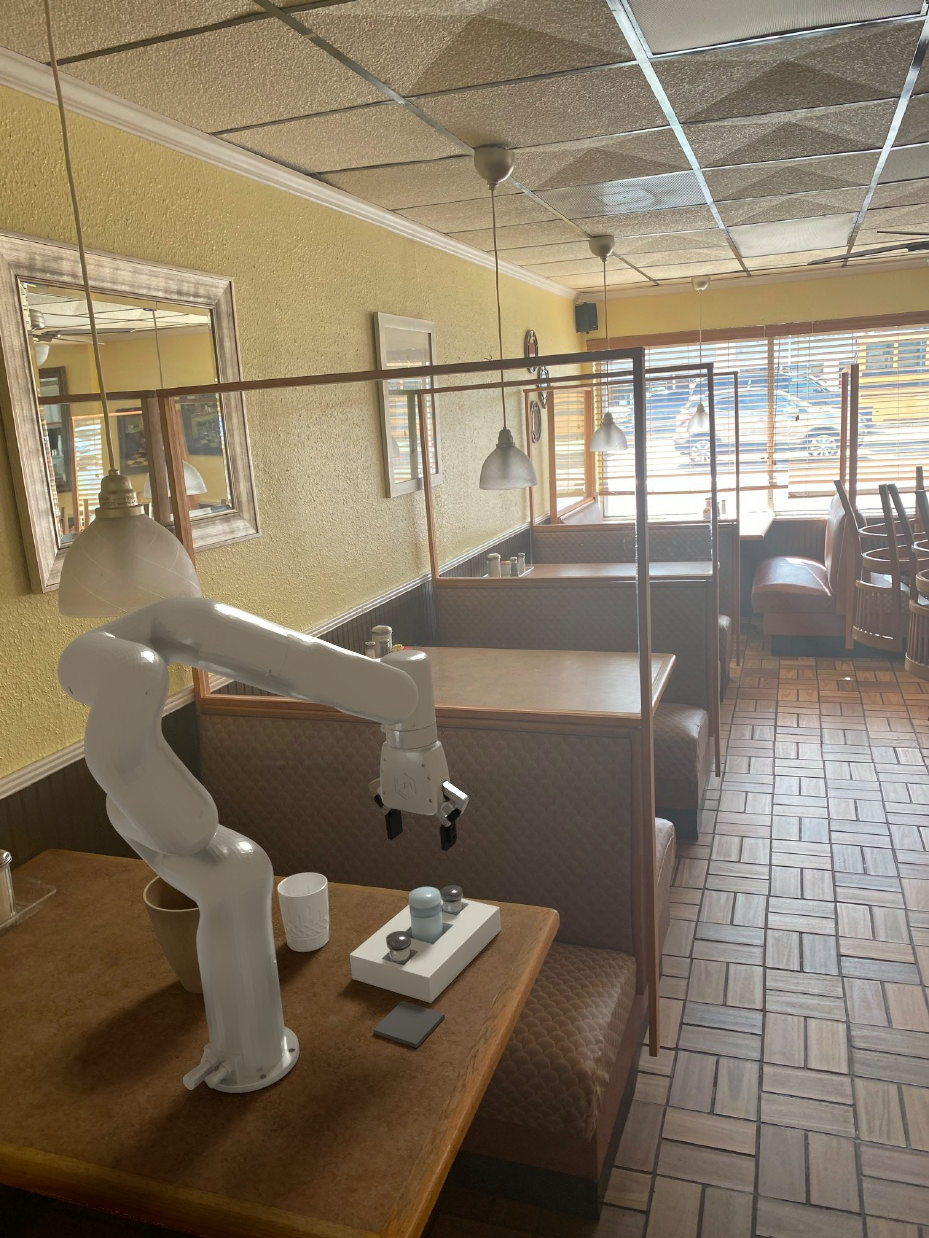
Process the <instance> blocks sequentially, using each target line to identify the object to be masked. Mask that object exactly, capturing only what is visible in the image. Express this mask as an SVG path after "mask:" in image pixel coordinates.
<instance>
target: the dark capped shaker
mask: <svg viewBox="0 0 929 1238" xmlns="http://www.w3.org/2000/svg"><path fill="white" fill-rule="evenodd" d="M439 891H440V897H441V900H443V912H444V913H448V914H452V915H456V916H457V915H458V914H459V913H460V912H461V911H462V903H461V898H462V899H463V897H464V894H463V891H464V890H463V888H462V887H461V886H459V885H455V884H452V885H451V884H450V885H446V886H444V887H442V888H441V889H440V890H439Z"/></svg>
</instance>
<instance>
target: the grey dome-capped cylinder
mask: <svg viewBox="0 0 929 1238" xmlns="http://www.w3.org/2000/svg"><path fill="white" fill-rule="evenodd" d="M386 943H387V947H388V948H389V953H390V962H393V963H397V964H400V965H405V964H406V963H407V962H408V961H409V960H410V947H409V946H410V945H411V936H410V934H409V933H408V932H405V931H395V932H392V933H390V934H389V935H388V936H387V937H386Z"/></svg>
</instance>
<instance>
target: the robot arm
mask: <svg viewBox="0 0 929 1238" xmlns="http://www.w3.org/2000/svg"><path fill="white" fill-rule="evenodd" d="M63 649H64V650H63V651H62V653H61V654H60V655H59V659H58V662H57V670H56V672H57V679H58V682H59V685H60V686H61V688H62V689H63V691H64V692H65V694H67V695H68V697H70V698H71V699H73V700H74V701H75V702H78V703H81V704H82V705H85V706H87V707H90V709H89V713H88V716H87V718H86V719H87V720H86V724H85V731H84V739H83V740H84V741H83V755H84V759H85V762H86V766H87V768H88V771H89V772H90V773H91V775H92V777H93V778H94V780H95V781H96V782H97V784H98V785H99V786H100V788H101V789H102V790H103V791H104V792H105V793H106V799H105V808H106V813H107V817H108V818H109V821H110V824H111V825H112V826H113V828H114V830H116V832H117V833H118V835H120V836H121V837H122V838H123V840H125V842H126V843H127V844H128V845H129V847H131V848H132V849H133V850H134V851H135V853H137V854H138V856H139V857H140V858H141V859H142V860H143V861H144V863H146V864H147V865H148V866H149V867H150V868H151V869H152V870H153V871H154V873H156V874H157V876H160V877H161V878H162V879H163V880H164V881H166V882H167V883H168V884H170V885H171V886H173V887H174V888H176V889H177V890H179V891H180V892H182V893H184V894H185V895H187V896H188V897H189V898H191V899H192V900H194V901H195V902H196V903H197V905H198V907H199V910H200V920H199V924H198V929H197V936H196V943H197V954H198V962H199V967H200V974H201V981H202V988H203V993H202V995H203V1003H204V1008H205V1016H206V1023H207V1031H208V1036H209V1042H208V1043H206V1044H205V1045H204V1046H203V1050H204V1052H203V1054H202V1056H201V1059H200V1063H199V1064H198V1065H197V1066H196V1067H194V1068H192V1069H191V1070H189V1071H188V1073H186V1074H185V1075H184V1076H183V1077H182V1083H183V1084H184V1086H185V1088H187V1089H188V1090H191V1091H193V1090H194V1089H195V1088H197V1086H199V1085H200V1084H201V1083H202V1082H203V1081H204V1082H205V1083H206V1085H207V1086H208V1087H209V1088H210V1089H214V1090H216V1091H220V1092H225V1093H231V1094H233V1093H234V1094H239V1093H240V1094H242V1093H248V1092H254V1091H257V1090H260V1089H263V1088H265V1087H269V1086H271V1085H272V1084H274V1083H276V1082H278V1081H279V1080H281V1079H282V1078H283V1077H285V1076H286V1075H287V1074H288V1073H289V1072H290V1071H291V1070H292V1069H293V1067H294V1066H295V1065H296V1064H297V1060H298V1059H299V1055H300V1043H299V1040H298V1036H297V1035H296V1033H295V1032H294V1031H292V1030H291V1029H290V1028H289V1027H287V1026H285V1021H284V1012H283V1005H282V996H281V995H282V994H281V987H280V981H279V970H278V963H277V955H276V954H277V953H276V945H275V938H274V928H273V916H272V914H273V913H272V903H273V901H272V900H273V899H272V898H273V890H274V889H273V888H274V869H273V864H272V862H271V860H270V857H269V856H268V854H267V853H266V851H265V850H264V849H263V848H262V847H261V846H260V845H259V844H258V843H257V842H255V841H254V840H252V839H251V838H249V837H247V836H245V835H243V834H242V833H240V832H237V831H235V830H234V829H233V830H232V828H228V827H226V826H224V825H222V824H220V823H219V814H218V813H219V812H218V809H217V805H216V803H215V801H214V799H213V797H212V795H211V794H210V792H209V791H208V790H207V789H206V788H205V786H204V785H203V784H201V782H200V781H199V780H198V779H197V778H196V777H195V776H194V775H193V773H192V772H191V771H190V770H189V769H188V767H186V765H185V764H184V762H183V761H182V760H181V759H180V758H179V756H178V755H177V754H176V753H175V752H174V750H173V749H172V748H171V746H170V745H169V743H168V742H167V740H166V739H165V737H164V735H163V732H162V719H163V714H164V710H165V707H166V703H167V700H168V696H169V694H170V693H169V692H170V683H171V680H170V672H169V669H168V667H169V666H171V665H173V664H175V663H178V664H181V665H185V666H189V667H192V668H195V669H197V670H201V671H204V672H207V673H210V674H213V675H216V676H219V677H221V678H222V677H223V678H225V679H230V680H232V681H236V682H239V683H241V684H244V685H247V686H251V687H253V688H256V689H259V690H263V691H266V692H269V693H273V694H276V695H280V696H282V697H286V698H289V699H293V700H298V701H303V702H309V703H314V704H318V705H324V706H327V707H332V708H335V709H336V710H338V711H340V712H341V713H344V714H348V715H352V716H355V717H358V718H362V719H367V720H370V721H373V722H377V723H380V727H379V729H380V732H381V733H385V739H386V740H385V741H384V742H383V743H382V747H381V752H380V762H379V763H380V766H379V778H376V779H374V780H372V781H371V782H369V783H368V784H367V786H368V789H369V791H370V793H371V795H372V796H373V801H374V802H375V803H376V805H377V806H378V807H379V808H380V813H381V814H382V815H384V817H385V818H384V819H385V828H386V835H387V840H389V841H393V840H394V839H396V838H397V837H399V836H400V835H401V834H403V831H404V829H403V827H404V826H403V819H402V811H403V812H408V813H415V814H420V815H427V816H432V815H435V816H436V817H437V818H438V820H439V821H440V822H441V823H442V824H441V825H440V826H439V835H440V837H439V838H440V848H441V850H442V851H444V852H447V851H448V850H449V849H452V847H453V846H454V845H456V843H457V840H458V837H457V836H458V832H457V823H456V821H457V820H458V819H459V818H460V817H461V816H462V815H463V814H464V813H465V811H466V808H467V807H468V806H467V805H468V803H469V801H470V797H469V796H468V795H467V794H466V793H464V792H462V791H461V790H459V789H458V788H457V787H455V786H454V785H453V784H451V779H450V773H449V768H448V767H449V766H448V762H447V758H446V754H445V751H444V748H443V744H442V742H441V741H439V739H438V729H437V718H436V716H437V715H436V707H435V705H436V704H435V693H434V692H435V691H434V683H433V671H432V663H431V659H430V657H429V655H428V654H427V653H426V652H424V651H422V650H417V649H402V650H397V651H392V652H390V653H388V654H385V655H384V656H382V657H377V658H370V657H369V656H367V655H366V656H365V655H362V654H360V653H357V652H354V651H351V650H348V649H345V648H342V647H340V646H337V645H334V644H332V643H329V642H327V641H326V640H325V641H324V640H323V639H320V638H317V637H315V636H312V635H309V634H307V633H303V632H301V631H298V630H295V629H293V628H289V627H287V626H285V625H281V624H279V623H276V622H274V621H271V620H269V619H266V618H264V617H261V616H259V615H256V614H254V613H251V612H250V611H249V612H248V611H246V610H243V609H242V608H238V607H236V606H233V605H231V604H228V603H225V602H221V601H219V600H214V599H209V598H204V597H203V598H202V597H196V596H191V595H190V596H189V595H183V594H180V595H172V596H168V597H165V598H162V599H159V600H157V601H154V602H152V603H150V604H147V605H145V606H143V607H141V608H137V609H136V610H134V611H131V612H130V613H127V614H124V615H122V616H120V617H119V618H115V619H114V620H111V621H109V622H107V623H104V624H102V625H99V626H97V627H95V628H92V629H90V630H88V631H87V632H85V633H83V634H81V635H79V636H77V637H76V638H75V639H73V640H72V641H70V642H69V643H68V645H67V646H66V647H65V648H63ZM451 801H454V803H455V806H453V805H452V804H451Z"/></svg>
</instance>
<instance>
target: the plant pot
mask: <svg viewBox="0 0 929 1238" xmlns="http://www.w3.org/2000/svg"><path fill="white" fill-rule="evenodd" d="M142 897H143V901H144V906H145V907H146V908H145V909H146V910H147V913H148V914H147V915H148V917H149V920H150V923H151V926H152V928H153V931H154V933H155V935H156V938H157V940H158V943H159V945H160V947H161V950H162V951H163V955H164V957H165V958H166V959H167V962H168V963H169V965H170V967H171V968H172V970H173V973H174V974H175V976H176V977H177V978H178V980H179V981H180V983H181V985H182V986H183V988H184V989H185V990H186V991H188V992H190V993H192V994H203V988H202V981H201V974H200V967H199V962H198V954H197V943H196V936H197V929H198V924H199V920H200V910H199V907H198V905H197V903H196V902H195V901H194V900H192V899H191V898H189V897H188V896H187V895H185V894H184V893H182V892H180V891H179V890H177V889H176V888H174V887H173V886H171V885H170V884H168V883H167V882H166V881H164V880H163V879H162V878H161V877H160V876H159V875H157V876H156V877H154V878H153V879H152V880H151V881H150V882H149V883H148V884H147V885H146V887H145V888H144V890H143V894H142Z"/></svg>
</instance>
